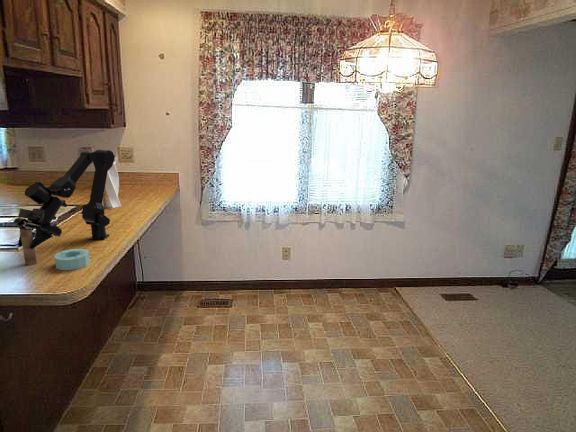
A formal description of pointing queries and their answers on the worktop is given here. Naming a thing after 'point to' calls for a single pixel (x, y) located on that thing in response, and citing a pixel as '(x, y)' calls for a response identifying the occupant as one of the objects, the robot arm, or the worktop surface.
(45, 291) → the worktop surface
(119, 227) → the worktop surface
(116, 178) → the skyscraper
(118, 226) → the worktop surface
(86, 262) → the bead
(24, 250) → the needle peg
